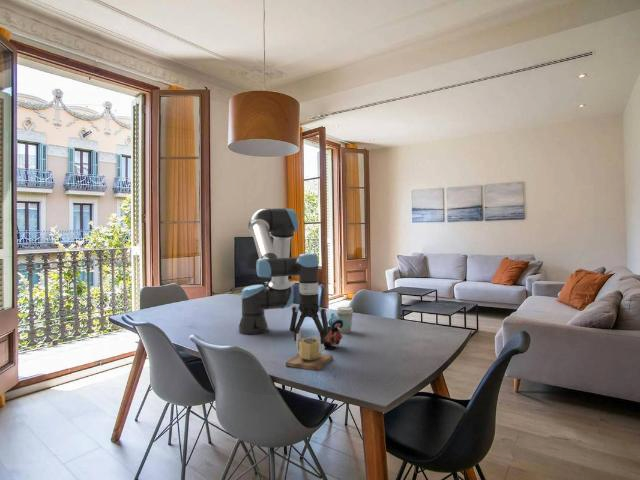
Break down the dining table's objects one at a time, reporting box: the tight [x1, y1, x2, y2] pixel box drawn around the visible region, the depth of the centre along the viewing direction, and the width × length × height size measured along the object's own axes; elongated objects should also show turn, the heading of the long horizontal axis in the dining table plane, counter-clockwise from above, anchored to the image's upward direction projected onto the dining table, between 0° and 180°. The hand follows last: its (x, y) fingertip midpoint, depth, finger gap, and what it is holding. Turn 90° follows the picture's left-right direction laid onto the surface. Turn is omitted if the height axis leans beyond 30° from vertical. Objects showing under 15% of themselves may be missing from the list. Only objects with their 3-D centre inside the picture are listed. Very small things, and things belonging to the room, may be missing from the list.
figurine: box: [323, 313, 343, 351], centre depth 164 cm, size 10×7×15 cm
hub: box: [298, 337, 322, 360], centre depth 146 cm, size 8×8×6 cm
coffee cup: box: [336, 306, 354, 334], centre depth 190 cm, size 8×8×12 cm
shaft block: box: [285, 336, 333, 372], centre depth 146 cm, size 14×14×10 cm
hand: (309, 350), depth 146 cm, fingers open, 9 cm apart
